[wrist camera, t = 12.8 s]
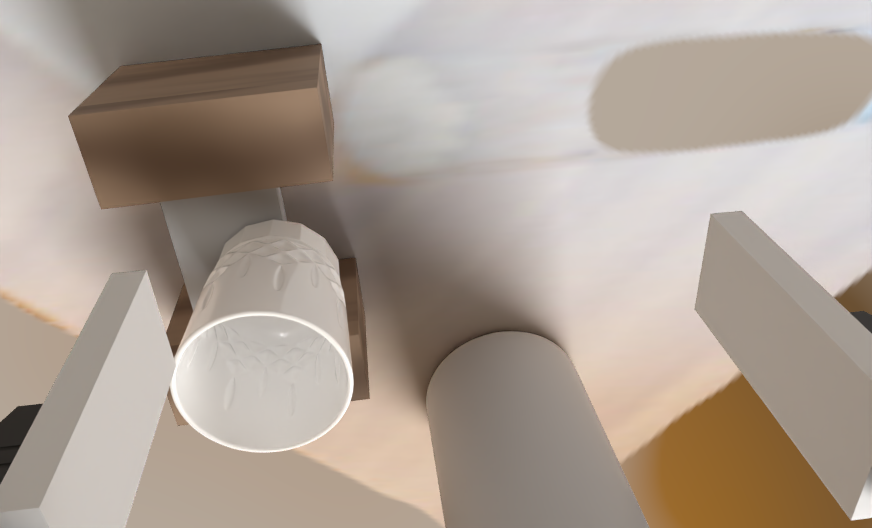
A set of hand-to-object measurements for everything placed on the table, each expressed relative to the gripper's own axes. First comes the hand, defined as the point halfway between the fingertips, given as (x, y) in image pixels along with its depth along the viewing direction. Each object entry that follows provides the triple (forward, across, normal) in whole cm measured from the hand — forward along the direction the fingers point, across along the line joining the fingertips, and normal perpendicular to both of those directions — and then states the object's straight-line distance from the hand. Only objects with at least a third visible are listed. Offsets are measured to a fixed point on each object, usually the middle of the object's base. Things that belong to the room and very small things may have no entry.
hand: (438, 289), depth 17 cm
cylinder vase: (+30, +7, -30) cm, 43 cm away
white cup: (+21, -7, -11) cm, 25 cm away
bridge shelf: (+30, -10, -12) cm, 34 cm away
